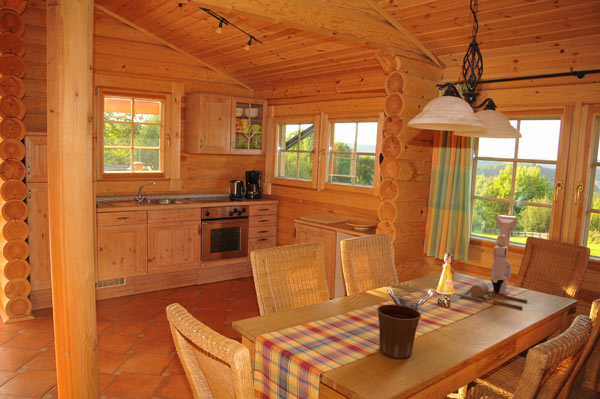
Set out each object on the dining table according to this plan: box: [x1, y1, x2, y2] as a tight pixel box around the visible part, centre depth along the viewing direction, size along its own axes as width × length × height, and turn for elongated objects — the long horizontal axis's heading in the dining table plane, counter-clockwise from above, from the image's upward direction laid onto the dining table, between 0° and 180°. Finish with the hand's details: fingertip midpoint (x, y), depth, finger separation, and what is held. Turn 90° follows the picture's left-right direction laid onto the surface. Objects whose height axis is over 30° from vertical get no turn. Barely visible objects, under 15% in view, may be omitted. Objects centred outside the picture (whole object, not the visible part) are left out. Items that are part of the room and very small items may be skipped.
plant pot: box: [376, 303, 422, 360], centre depth 170 cm, size 16×16×16 cm
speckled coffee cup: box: [469, 281, 492, 301], centre depth 244 cm, size 11×8×8 cm
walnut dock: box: [492, 293, 528, 310], centre depth 237 cm, size 15×14×2 cm
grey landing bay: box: [460, 286, 493, 303], centre depth 247 cm, size 20×12×2 cm, turn 144°
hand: (496, 292), depth 241 cm, fingers closed
